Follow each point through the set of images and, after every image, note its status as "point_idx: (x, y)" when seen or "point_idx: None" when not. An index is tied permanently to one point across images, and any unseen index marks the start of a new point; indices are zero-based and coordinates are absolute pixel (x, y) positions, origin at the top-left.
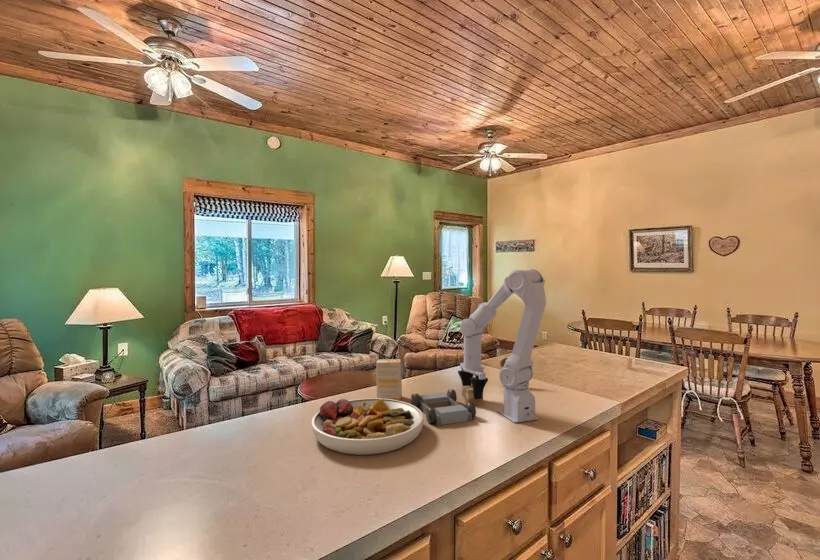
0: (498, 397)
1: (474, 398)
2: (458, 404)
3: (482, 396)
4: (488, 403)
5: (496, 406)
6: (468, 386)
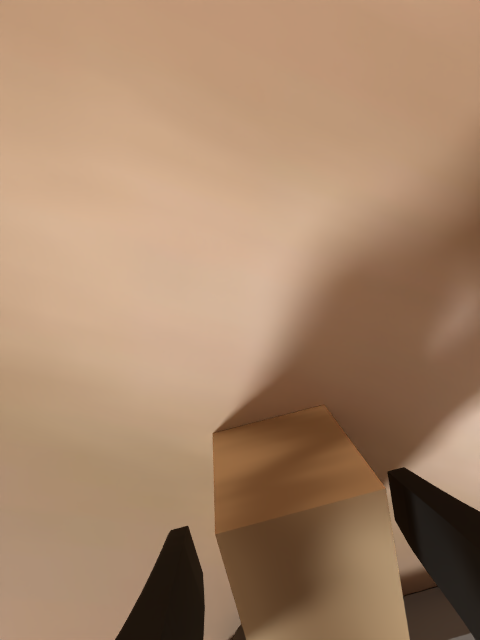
0: (190, 228)
1: (400, 524)
2: (471, 638)
3: (348, 442)
4: (336, 364)
5: (416, 317)
6: (278, 631)
